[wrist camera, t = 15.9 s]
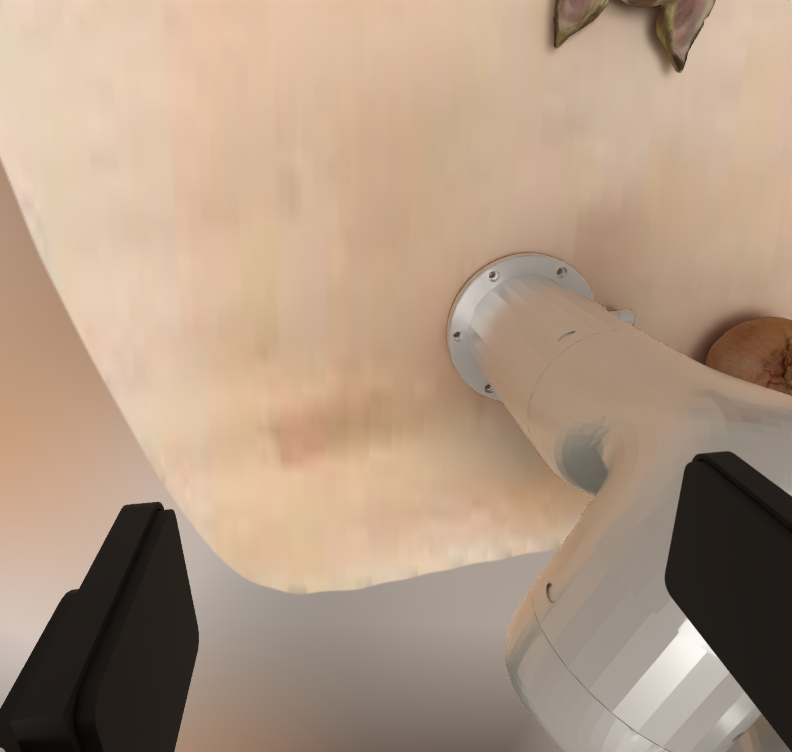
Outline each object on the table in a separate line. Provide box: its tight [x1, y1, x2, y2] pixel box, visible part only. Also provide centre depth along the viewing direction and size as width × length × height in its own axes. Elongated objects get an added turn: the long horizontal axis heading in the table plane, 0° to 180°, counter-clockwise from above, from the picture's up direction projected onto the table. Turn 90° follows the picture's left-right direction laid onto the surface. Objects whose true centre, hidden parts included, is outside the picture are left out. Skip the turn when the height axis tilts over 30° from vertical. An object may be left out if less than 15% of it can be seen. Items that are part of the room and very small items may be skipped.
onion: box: [705, 317, 792, 396], centre depth 48 cm, size 10×9×10 cm
